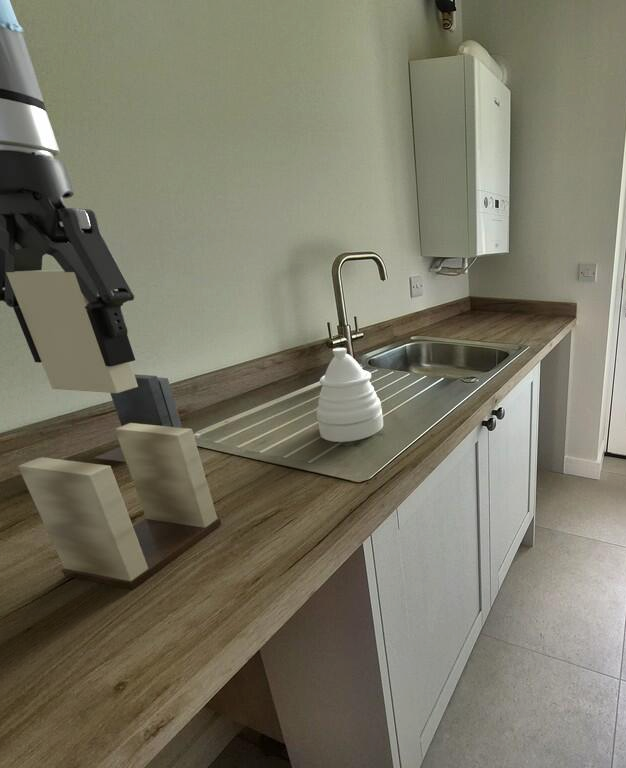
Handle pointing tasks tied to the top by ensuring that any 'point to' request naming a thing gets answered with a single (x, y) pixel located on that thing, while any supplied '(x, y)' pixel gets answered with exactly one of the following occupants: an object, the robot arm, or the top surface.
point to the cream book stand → (108, 512)
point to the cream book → (66, 333)
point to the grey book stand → (144, 408)
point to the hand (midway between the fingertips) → (85, 361)
